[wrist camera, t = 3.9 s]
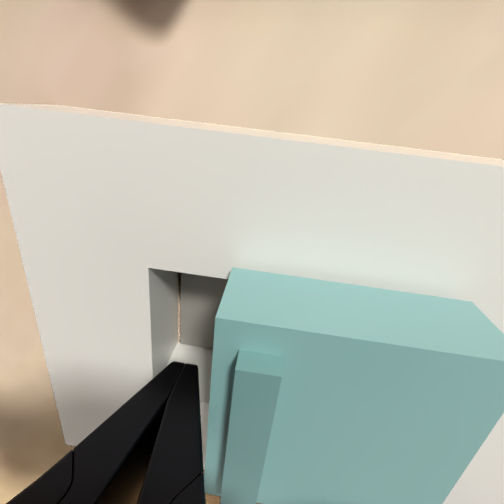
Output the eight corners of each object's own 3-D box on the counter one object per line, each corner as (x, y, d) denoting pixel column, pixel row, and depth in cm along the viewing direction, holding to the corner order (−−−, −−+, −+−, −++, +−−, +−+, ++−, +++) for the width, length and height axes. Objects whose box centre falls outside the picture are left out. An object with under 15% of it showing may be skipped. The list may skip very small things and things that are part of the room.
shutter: (471, 301, 9) (558, 389, 6) (397, 452, 11) (431, 558, 9) (232, 267, 9) (208, 335, 6) (218, 422, 12) (198, 516, 9)
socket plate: (631, 174, 10) (764, 198, 7) (459, 449, 16) (495, 519, 13) (61, 104, 11) (-16, 102, 8) (101, 390, 17) (65, 444, 14)
